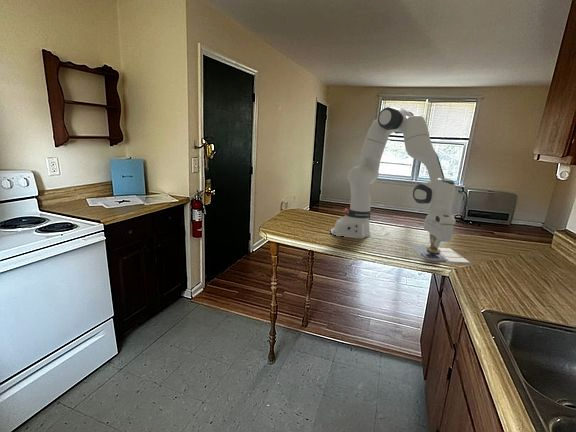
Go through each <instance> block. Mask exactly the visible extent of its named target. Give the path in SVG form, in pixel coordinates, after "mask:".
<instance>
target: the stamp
mask: <svg viewBox="0 0 576 432" xmlns="http://www.w3.org/2000/svg"><path fill="white" fill-rule="evenodd" d="M435 241H436V237H435V236H433V235H432V240H431V243H430V246H426V247H427V252H428V253H429V254H433V255H439V254H440V252H441V250H440V249H438V248H439V247H435V246H434V242H435Z"/></svg>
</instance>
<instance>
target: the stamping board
mask: <svg viewBox="0 0 576 432" xmlns="http://www.w3.org/2000/svg"><path fill="white" fill-rule="evenodd" d="M409 247H410V248H412V249H413V251H414V252H416V253H417V254H418V255H419V256H420V257H421V258H423V260H424V261H426V262H437V263H453V264H454V263H455V264H456V263H457V264H473V262H470V260H468V259H466V258H464V256H462V255H461V254H459V253H458V252H456V251H455V250H454V249H452V248H451V247H450V248H449V247H438V249H440V250H441V252H440V254H439V255H433V254H429V253H428V252H427V247H428V246H416V245H415V246H413V245H411V246H409Z"/></svg>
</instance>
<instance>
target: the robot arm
mask: <svg viewBox="0 0 576 432" xmlns="http://www.w3.org/2000/svg"><path fill="white" fill-rule="evenodd" d="M377 116H378V117H377V118H376V119H374V120H373V121H372V123H371V125H370V127H369V129H368V131H367V132H366V136H365V138H364V142H363V144H362V147H361V149H360V150H361V151H360V155H361V158H360V164H359V165H356V166H354V167H352V168H351V169H349V171H348V172H347V176H346V177H347V181H348V183H349V187H350V204H349V205H350V206H349V208H346V207H345V208H344V212H345V215H344V216H342V217H340V218H338V219H337V220H336V222H335V223H334V227H331V228H330V231H331V232H330V234H331V233H332V234H331V235H333V234H334V235H336V236H335V237H340V236H344V237H343V238H351V239H360V240H361V239H365V238H368V237H370V236H371V230H370V220H371V214H372V212H371V211H372V210H371V206H372V205H371V204H372V195H371V190H370V189H371V188H370V185H371V184H373V183H375V182H376V181H377V179H378V178H379V175H380V174H379V170H380V166H381V165H380V164H381V159H382V157H383V154H384V151H385V148H386V144H387V143H388V139H389V137H390V136H391V134H402V135H403V141H404V147H405V151H406V153H407V155H408V156H409V157H410V158H412V159H414V160H417V161H418V162H421V163H422V165H424V166H425V168H426V170H427V173H428V174H427V175H428V176H429V177H428V178H429V179H430V180H429V181H428V182H423V183H418V184H417V185H415V186H414V188H413V190H412V198H413V200H414V201H415V202H416V203H417V204H421V205H429V210H428V213H427V215H426V217H425V218H424V223H423V230H425V232H426V231H427V232H428V233H429V243H430V244H431V240H432V235H433V236H435V237H436V241H435V242H434V246H435V247H438V248H440V244H441V242H444V243H449V242H451V240H452V237H453V234H454V233H453V232H454V229H455V228H454V227H455V226H454V225H456V222H457V221H456V219H455V217H454V215H453V214H452V211H453V202H454V199H455V194H456V183H455V181H453V180H452V179H449V178H445V175H444V174H445V173H444V172H443V168H442V164H441V162H440V159H439V156H438V154H437V151H436V150H435V148H434V146H433V144H432V141H431V137H430V131H429V128H428V124H427V122H426V120H425V118H424V116H422V115H417V114H414V113H413V112H411V111H408V110H406V109H403V108H398V107H394V106H387V107H384V108H383V109H381V111H379V114H378V115H377ZM334 235H333V236H334Z"/></svg>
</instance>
